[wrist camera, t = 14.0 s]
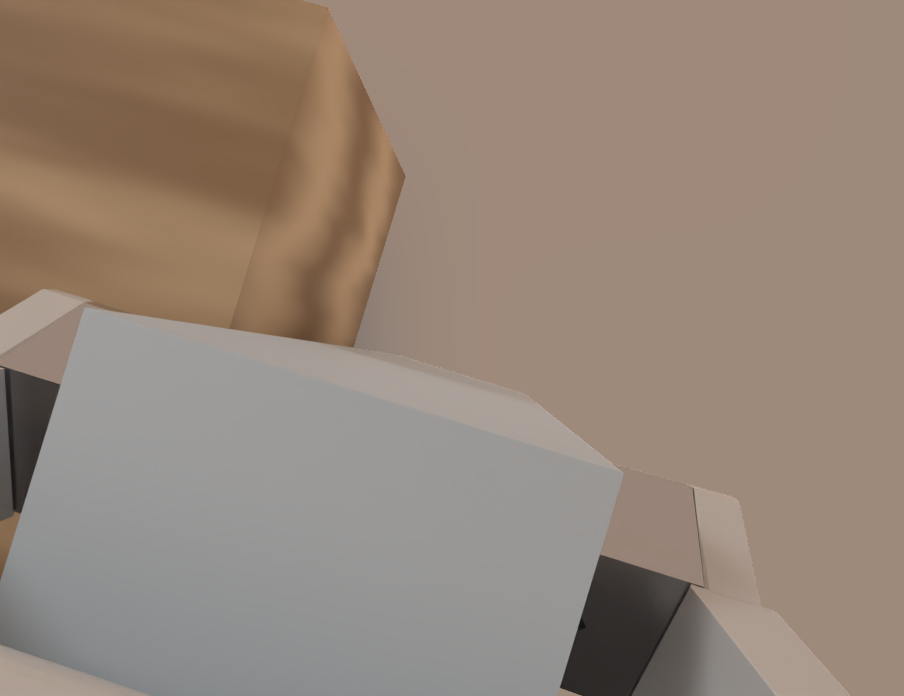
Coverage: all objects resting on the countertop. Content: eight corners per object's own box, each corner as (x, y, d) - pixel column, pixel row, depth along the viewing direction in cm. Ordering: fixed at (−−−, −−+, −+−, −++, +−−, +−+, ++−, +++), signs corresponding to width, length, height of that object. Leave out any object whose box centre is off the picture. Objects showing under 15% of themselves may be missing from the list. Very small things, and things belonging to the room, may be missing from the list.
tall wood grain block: (241, 1617, 13) (711, 52, 13) (-638, 1261, 14) (-183, -192, 14) (361, 1020, 25) (608, 202, 25) (-116, 849, 26) (126, 64, 26)
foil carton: (457, 1035, 6) (625, 473, 6) (-82, 843, 6) (83, 307, 6) (485, 521, 26) (524, 393, 26) (357, 481, 26) (396, 354, 26)
